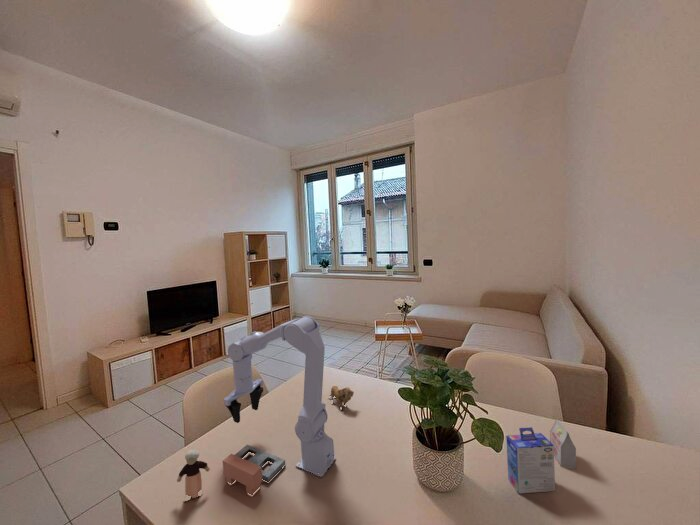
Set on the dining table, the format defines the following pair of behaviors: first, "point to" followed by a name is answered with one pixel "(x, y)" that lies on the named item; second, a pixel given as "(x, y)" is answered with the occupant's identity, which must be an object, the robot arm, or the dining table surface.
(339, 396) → the lion figurine
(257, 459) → the slotted metal plate
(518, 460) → the ink cartridge box
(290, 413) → the dining table surface
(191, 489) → the grandmother figurine
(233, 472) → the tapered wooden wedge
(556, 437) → the white gable-top carton
